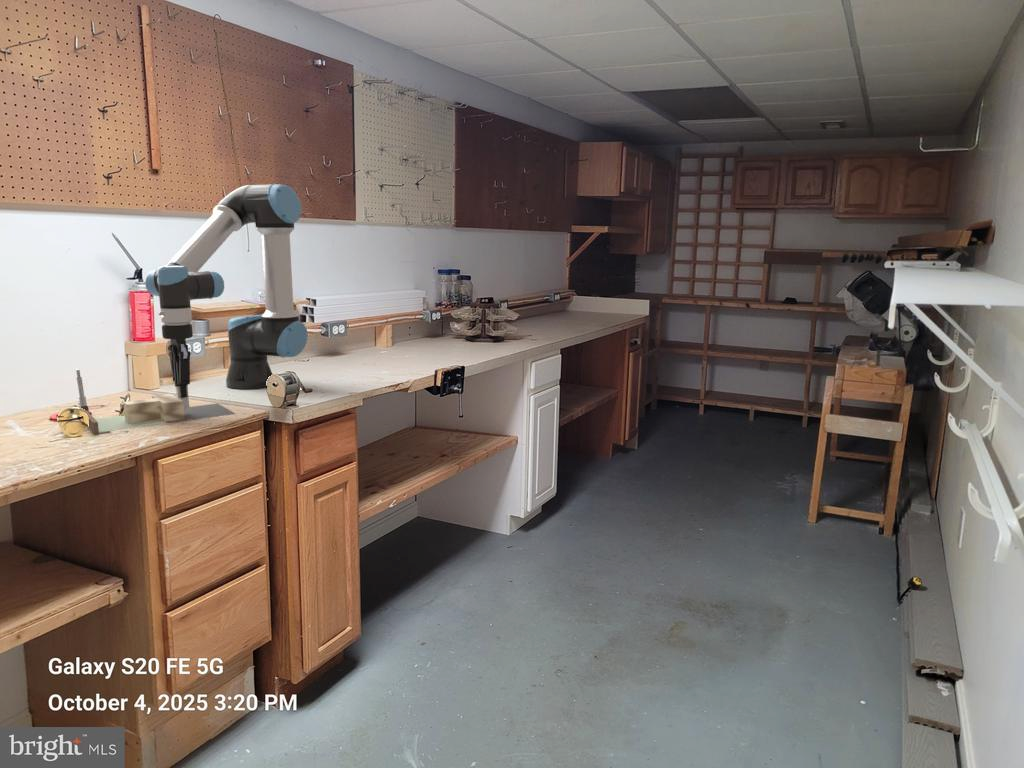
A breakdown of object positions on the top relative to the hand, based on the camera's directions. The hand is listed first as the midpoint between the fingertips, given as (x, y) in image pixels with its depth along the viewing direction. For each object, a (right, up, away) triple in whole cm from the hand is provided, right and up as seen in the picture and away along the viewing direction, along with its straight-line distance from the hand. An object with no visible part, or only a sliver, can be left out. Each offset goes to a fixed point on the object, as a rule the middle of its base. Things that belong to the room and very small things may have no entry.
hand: (183, 408), depth 206 cm
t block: (-6, -3, -5) cm, 8 cm away
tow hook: (-30, -3, -3) cm, 30 cm away
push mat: (-5, -3, -3) cm, 6 cm away
